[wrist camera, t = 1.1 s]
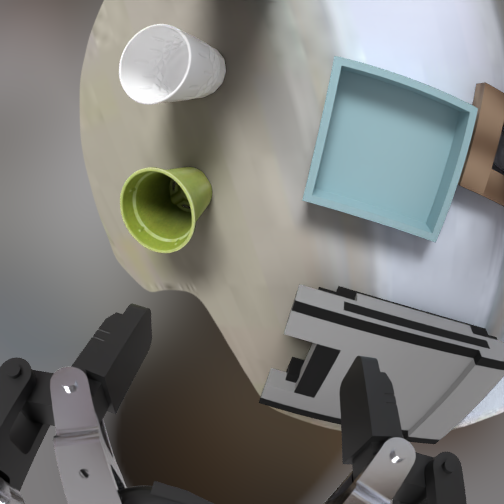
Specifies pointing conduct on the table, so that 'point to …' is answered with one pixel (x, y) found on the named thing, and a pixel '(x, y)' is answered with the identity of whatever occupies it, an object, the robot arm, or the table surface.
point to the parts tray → (389, 149)
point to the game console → (386, 360)
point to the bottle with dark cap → (500, 153)
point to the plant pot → (164, 206)
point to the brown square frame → (485, 145)
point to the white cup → (169, 66)
